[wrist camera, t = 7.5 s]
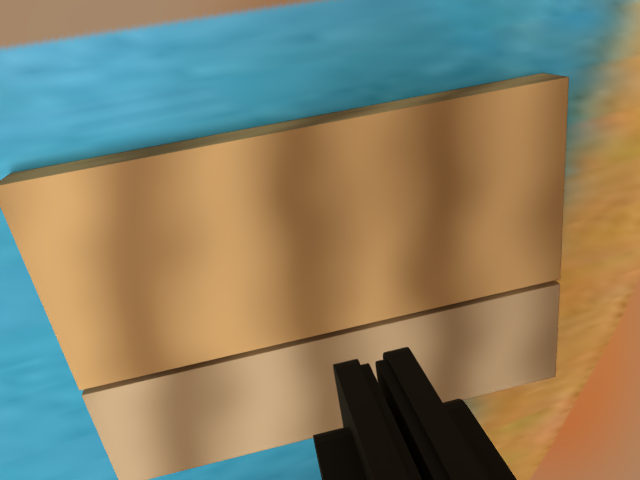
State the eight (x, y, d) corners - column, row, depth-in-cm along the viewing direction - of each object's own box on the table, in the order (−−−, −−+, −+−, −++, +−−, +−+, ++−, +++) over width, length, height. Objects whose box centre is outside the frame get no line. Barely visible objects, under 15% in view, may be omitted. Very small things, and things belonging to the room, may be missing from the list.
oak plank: (542, 72, 24) (568, 76, 22) (538, 262, 28) (560, 279, 27) (10, 173, 22) (-9, 186, 20) (89, 364, 26) (79, 390, 24)
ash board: (538, 267, 29) (559, 284, 27) (535, 355, 31) (555, 376, 29) (91, 368, 26) (81, 395, 24) (127, 456, 29) (121, 485, 27)
